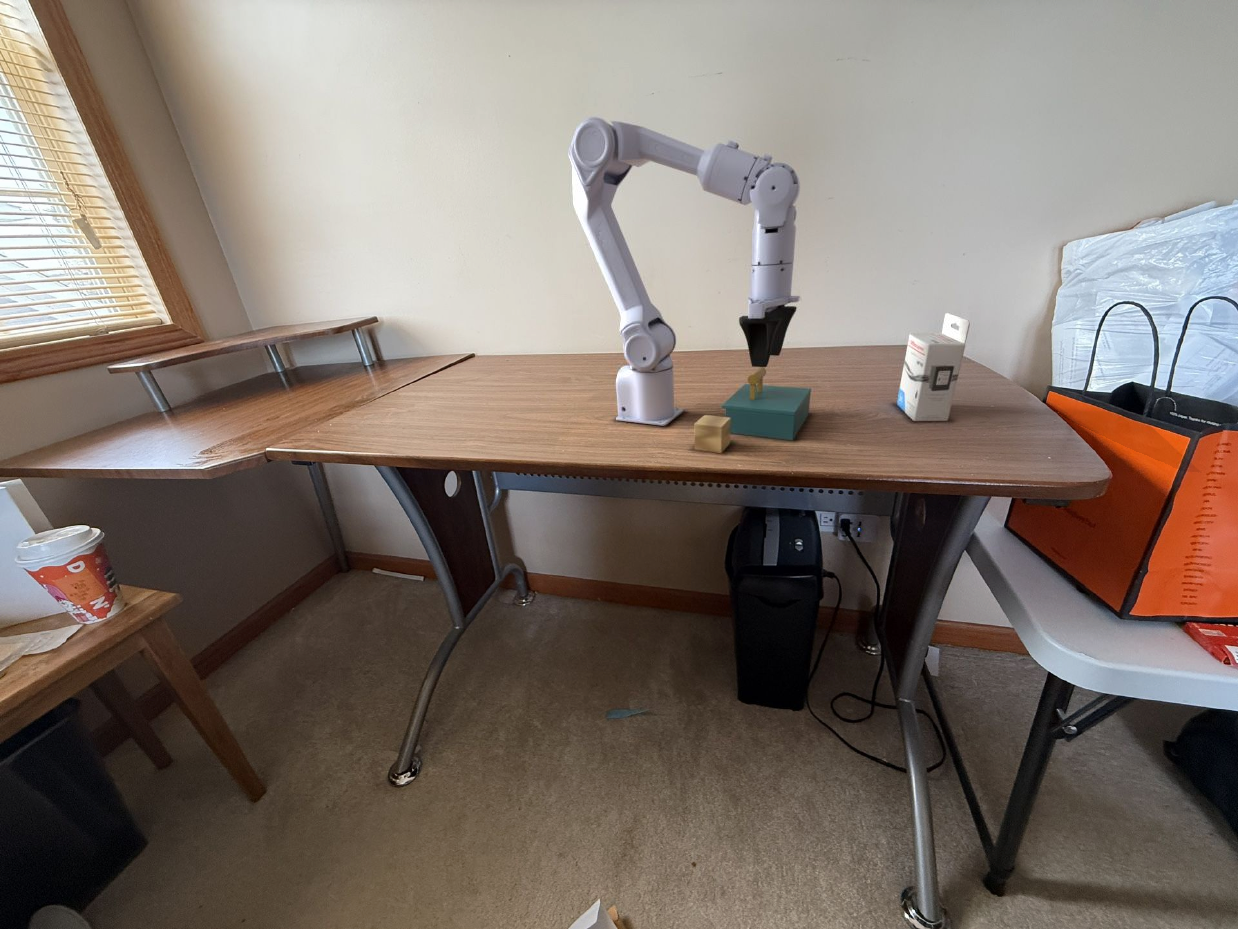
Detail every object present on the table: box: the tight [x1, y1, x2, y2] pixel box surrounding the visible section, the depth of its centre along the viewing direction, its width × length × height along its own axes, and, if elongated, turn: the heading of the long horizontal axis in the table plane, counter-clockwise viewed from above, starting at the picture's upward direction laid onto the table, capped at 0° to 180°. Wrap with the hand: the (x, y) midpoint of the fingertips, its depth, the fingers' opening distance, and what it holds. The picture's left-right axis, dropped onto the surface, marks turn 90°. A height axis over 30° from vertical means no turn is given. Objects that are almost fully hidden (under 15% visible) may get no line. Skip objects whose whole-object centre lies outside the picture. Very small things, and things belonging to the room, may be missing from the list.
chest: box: [724, 392, 812, 441], centre depth 76 cm, size 10×12×4 cm
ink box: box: [896, 312, 971, 422], centre depth 73 cm, size 9×5×15 cm, turn 168°
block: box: [694, 414, 731, 454], centre depth 69 cm, size 4×4×4 cm
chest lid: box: [721, 367, 812, 415], centre depth 74 cm, size 11×12×5 cm
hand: (766, 360), depth 73 cm, fingers open, 7 cm apart
